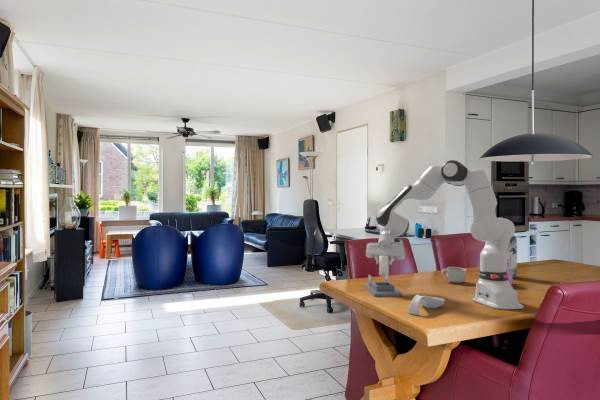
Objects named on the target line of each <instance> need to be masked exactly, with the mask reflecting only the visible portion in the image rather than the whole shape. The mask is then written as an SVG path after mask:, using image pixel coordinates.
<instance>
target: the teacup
mask: <svg viewBox="0 0 600 400" xmlns="http://www.w3.org/2000/svg"><path fill="white" fill-rule="evenodd" d="M444 272H445V273H444ZM445 274H446V275H445ZM441 275H442V276H443V277H444V278H445V279H446V280H448V281H449V282H450V283H453V284H462V283H464V282H465V281H466V278H467V269H466V268H463V267H459V266H447V267H446V268H442V270H441Z"/></svg>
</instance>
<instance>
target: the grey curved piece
mask: <svg viewBox="0 0 600 400" xmlns="http://www.w3.org/2000/svg"><path fill="white" fill-rule="evenodd" d="M445 302H446V298H442V297H439V296H438V297H437V296H429V295H428V296H427V295H419V294H416V295H414V296H413V298H412V300H411V302H410V304H409V306H408V314H410V315H414V316H420V304H421V305H422V306H423V307H424V308H426V309H438V308H439V307H442V306H443V305H444V304H445Z"/></svg>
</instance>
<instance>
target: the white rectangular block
mask: <svg viewBox="0 0 600 400" xmlns="http://www.w3.org/2000/svg"><path fill="white" fill-rule="evenodd" d="M378 260H379V264H378V265H379V266H378V276H380V277H385V276H388V277H389V275H390V274H389V273H390V272H389V270H390V269H389V266H390V265H388V261H390V260H389V256H384V255H380V256H379V258H378Z"/></svg>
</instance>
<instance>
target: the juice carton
mask: <svg viewBox="0 0 600 400" xmlns="http://www.w3.org/2000/svg"><path fill="white" fill-rule="evenodd" d="M517 258H518V240H517V236H516V235H515V233H514V234H513V236H512V237H511V239H510V242H509V245H508V249H507V254H506V268H507V269H508V270H509V272H510V274H511V276H512V279H513V280H514V279H516V278H517V271H518V267H517V266H518V259H517Z"/></svg>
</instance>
